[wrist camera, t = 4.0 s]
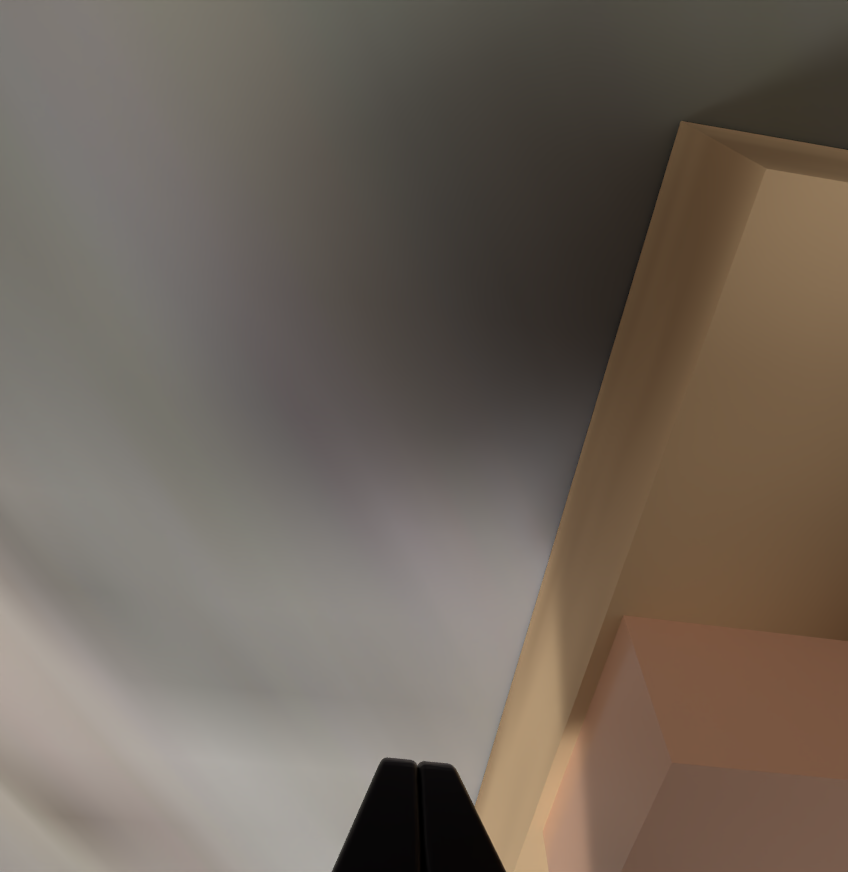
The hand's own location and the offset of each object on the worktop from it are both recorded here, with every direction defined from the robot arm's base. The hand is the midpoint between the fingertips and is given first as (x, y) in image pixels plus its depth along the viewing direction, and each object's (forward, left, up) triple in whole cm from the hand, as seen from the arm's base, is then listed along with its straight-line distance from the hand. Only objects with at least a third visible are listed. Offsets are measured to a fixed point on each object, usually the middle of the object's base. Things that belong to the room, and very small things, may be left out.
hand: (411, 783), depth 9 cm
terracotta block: (-4, 0, -1) cm, 4 cm away
